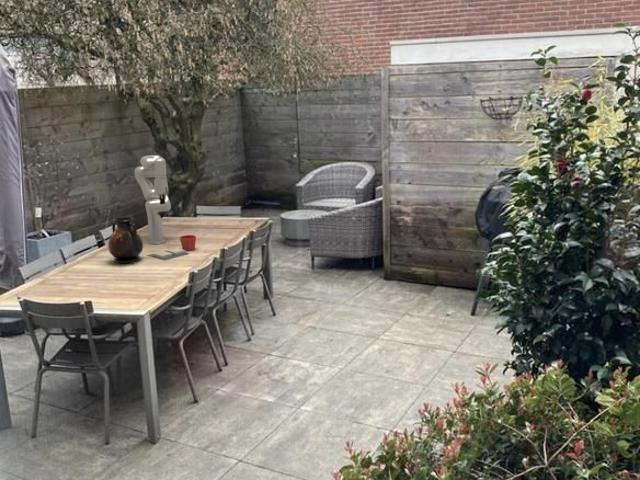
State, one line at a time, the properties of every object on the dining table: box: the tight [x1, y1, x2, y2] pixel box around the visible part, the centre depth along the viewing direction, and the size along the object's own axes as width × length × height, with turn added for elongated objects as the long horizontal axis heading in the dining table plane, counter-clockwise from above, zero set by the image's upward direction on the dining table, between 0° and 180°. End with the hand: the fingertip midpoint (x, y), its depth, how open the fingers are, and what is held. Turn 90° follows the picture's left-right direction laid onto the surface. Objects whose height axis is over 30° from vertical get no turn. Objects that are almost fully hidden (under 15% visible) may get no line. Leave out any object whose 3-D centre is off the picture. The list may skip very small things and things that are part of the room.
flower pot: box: [179, 234, 197, 252], centre depth 412 cm, size 11×11×10 cm
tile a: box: [166, 247, 186, 256], centre depth 403 cm, size 2×8×10 cm
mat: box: [146, 250, 190, 261], centre depth 400 cm, size 20×21×1 cm
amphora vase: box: [107, 216, 144, 265], centre depth 384 cm, size 22×22×28 cm
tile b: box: [152, 250, 172, 260], centre depth 396 cm, size 2×8×10 cm
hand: (162, 203), depth 409 cm, fingers closed
